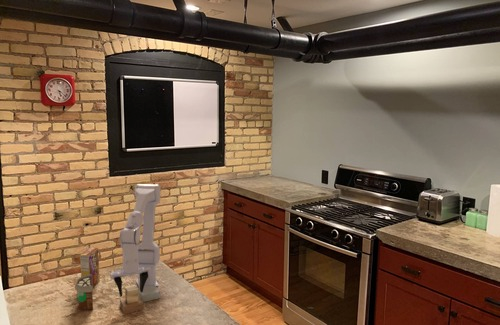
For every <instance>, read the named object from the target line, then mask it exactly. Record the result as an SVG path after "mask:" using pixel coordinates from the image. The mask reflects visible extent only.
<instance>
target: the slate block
mask: <svg viewBox="0 0 500 325" xmlns="http://www.w3.org/2000/svg"><path fill="white" fill-rule="evenodd" d="M137 288H138V296H139V297H140V299H141V300H142V302H143V303H144V302H147V301H148V302H149V301H153V300H158V299H160V298H161V297H160V296H161V292H160V290H159V289H158V286H155V285H152V286H147V287H144V289H143V292H141V291H140V288H139V287H137Z"/></svg>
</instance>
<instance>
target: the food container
mask: <svg viewBox="0 0 500 325" xmlns="http://www.w3.org/2000/svg"><path fill="white" fill-rule="evenodd" d="M74 285H75V286H74V289H75V291H76V293H77V302H78V303H77V304H78V309H79V310H82V311H88V312H89V311H94V303H93V302H94V300H93V299H94V298H93V297H94V296H93V288H92V274H90V275H86V276H83V277H79V278H77V279H76V282H75V284H74Z"/></svg>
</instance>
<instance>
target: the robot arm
mask: <svg viewBox="0 0 500 325" xmlns="http://www.w3.org/2000/svg"><path fill="white" fill-rule="evenodd" d="M133 192H134V197H135V205H134V209H133V211H132V212H130V213H129V215H128V219H127V221H126V224H125V226H124V228H123V229H121V230H120V232H119V239H118V240H119V243H120V249H121V250H122V269H120V270H116V271H114V272H113V271H112V272H110V274H109V276H110V277H109V278H110V280H111V281H112V280H114V283H115V285H116V287H117V289H118V293H119V297H123V289H122V288H123V286H122V285H123V280H122V278H123V277H135V276H136V275H137V279H135V283H136V285H137V287H138V288H140V291H141V292H143V289H144V287H147V286H152V285H155V286H156V287H159V283H158V281H157V274H156V273H157V265H158V264H159V262H160V259H161V258H160V257H161V253H160V252H161V251H160V246H159V245H158V244H157V243H156V242H154V236H155V220H156V209H157V208H156V206H157V204H160V203H161V192H162V190H161V186H160V185H159V184H158V183H157V184H145V183H144V184H142V183H137V184H136V185H135V187H134V191H133ZM141 228H142V229H141ZM141 233H142V235H141ZM141 237H142V238H141ZM140 240H141V242H140Z"/></svg>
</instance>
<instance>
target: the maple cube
mask: <svg viewBox="0 0 500 325" xmlns="http://www.w3.org/2000/svg"><path fill="white" fill-rule="evenodd" d="M124 288H125V289H124V291H125V292H124V293H125V297H124V298H125V299H126V301H127V304H129V303H134V302H138V296H139V295H138V288H139V287H138V285H137V284H133V285H128V286H125V287H124Z"/></svg>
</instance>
